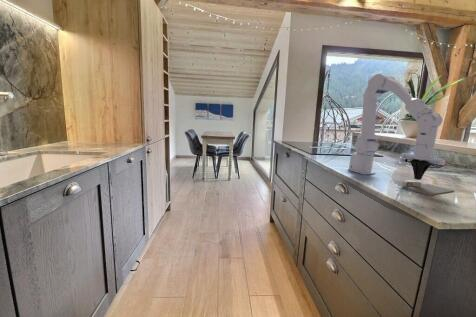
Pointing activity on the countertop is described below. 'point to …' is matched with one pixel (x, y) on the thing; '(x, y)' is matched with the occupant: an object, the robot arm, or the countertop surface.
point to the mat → (428, 189)
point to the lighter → (411, 183)
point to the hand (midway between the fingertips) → (417, 179)
